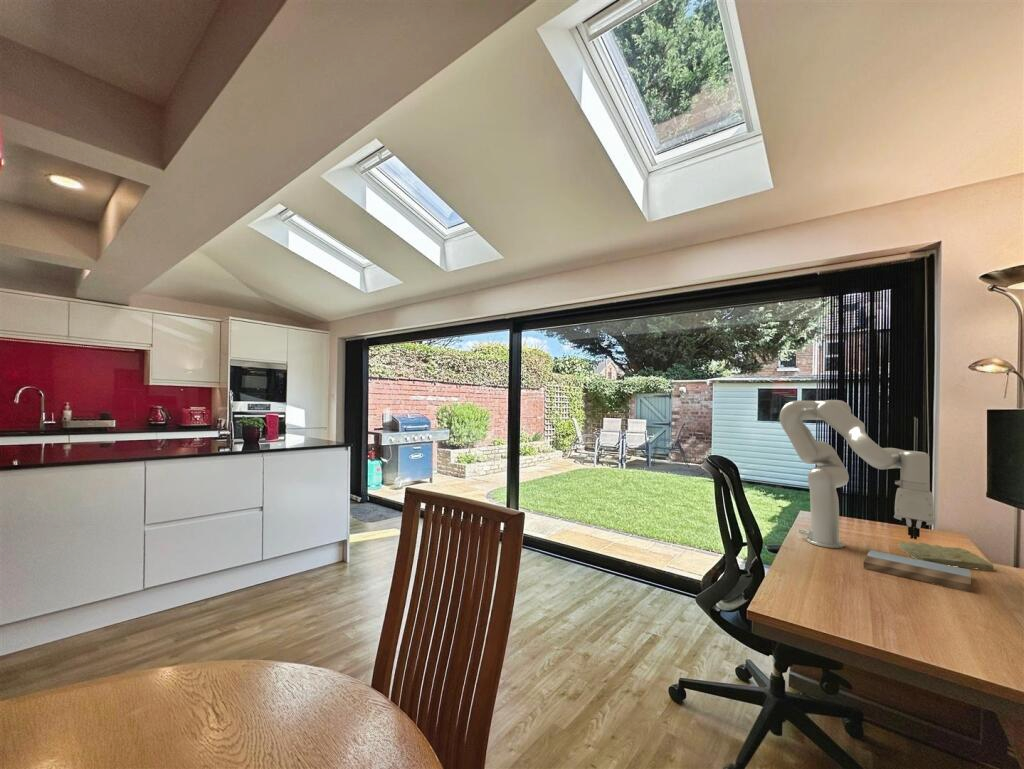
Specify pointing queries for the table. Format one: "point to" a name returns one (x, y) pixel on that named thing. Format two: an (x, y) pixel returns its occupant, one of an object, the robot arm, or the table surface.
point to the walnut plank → (919, 573)
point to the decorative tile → (945, 555)
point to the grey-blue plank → (920, 563)
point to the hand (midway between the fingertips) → (913, 538)
